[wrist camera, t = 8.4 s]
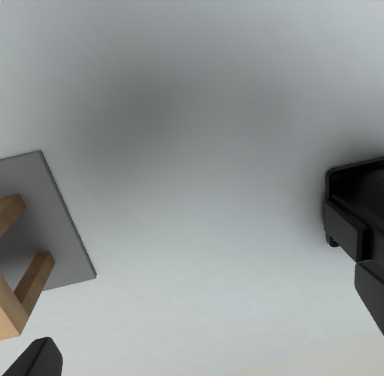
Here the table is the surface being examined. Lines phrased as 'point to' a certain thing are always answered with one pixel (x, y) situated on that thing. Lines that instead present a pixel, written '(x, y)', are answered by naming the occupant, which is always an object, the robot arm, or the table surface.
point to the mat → (39, 225)
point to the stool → (30, 282)
